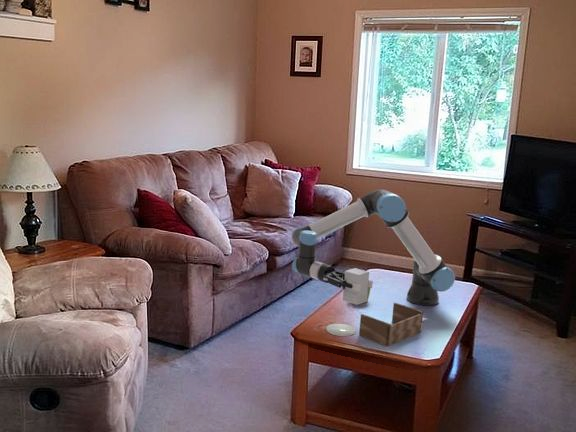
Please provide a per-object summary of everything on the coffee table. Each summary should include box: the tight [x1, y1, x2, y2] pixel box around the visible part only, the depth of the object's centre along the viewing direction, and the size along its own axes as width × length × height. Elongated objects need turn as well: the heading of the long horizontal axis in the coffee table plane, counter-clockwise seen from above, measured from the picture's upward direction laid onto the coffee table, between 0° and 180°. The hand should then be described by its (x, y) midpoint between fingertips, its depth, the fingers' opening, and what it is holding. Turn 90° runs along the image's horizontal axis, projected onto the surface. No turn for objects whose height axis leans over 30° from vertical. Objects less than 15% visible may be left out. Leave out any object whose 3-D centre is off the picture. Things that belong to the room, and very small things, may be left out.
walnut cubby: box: [358, 302, 424, 347], centre depth 250 cm, size 24×14×9 cm, turn 135°
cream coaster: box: [326, 323, 356, 337], centre depth 251 cm, size 12×12×1 cm
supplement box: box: [342, 267, 370, 305], centre depth 247 cm, size 7×7×13 cm
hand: (365, 286), depth 243 cm, fingers closed on supplement box, 7 cm apart
